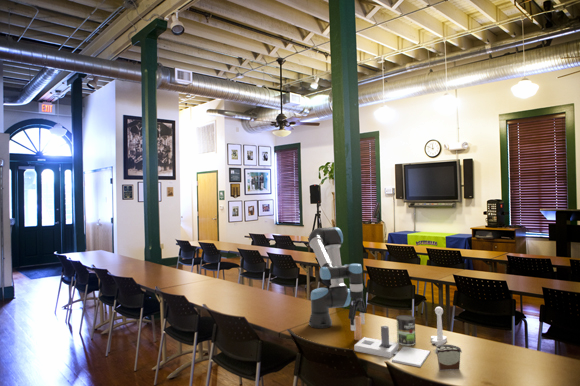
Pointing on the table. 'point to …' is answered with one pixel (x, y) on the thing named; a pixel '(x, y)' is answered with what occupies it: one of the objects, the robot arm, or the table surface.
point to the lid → (411, 356)
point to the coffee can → (406, 330)
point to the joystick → (439, 329)
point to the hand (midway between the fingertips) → (357, 327)
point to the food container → (448, 357)
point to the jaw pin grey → (385, 336)
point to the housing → (375, 347)
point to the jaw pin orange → (358, 328)
